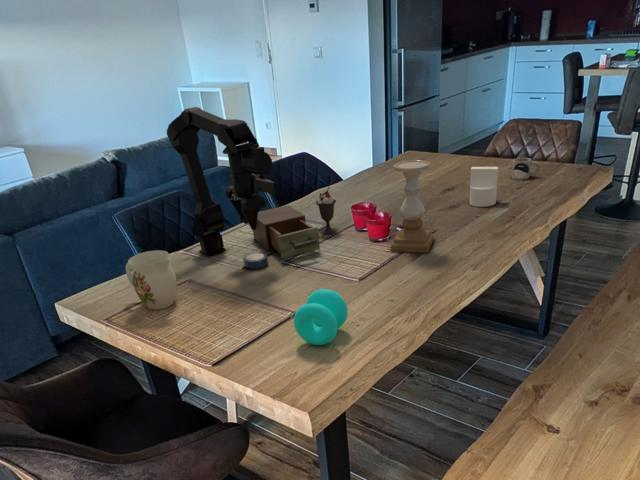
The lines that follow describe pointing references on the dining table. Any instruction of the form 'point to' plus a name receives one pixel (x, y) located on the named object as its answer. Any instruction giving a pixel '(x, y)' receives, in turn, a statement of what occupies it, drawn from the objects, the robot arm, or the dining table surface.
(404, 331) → the dining table surface
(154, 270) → the pitcher
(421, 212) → the candle holder
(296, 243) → the drawer
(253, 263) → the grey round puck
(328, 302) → the teal spool
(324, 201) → the sundae
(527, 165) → the mug
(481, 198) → the cylinder with rectangular tab
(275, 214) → the cabinet
